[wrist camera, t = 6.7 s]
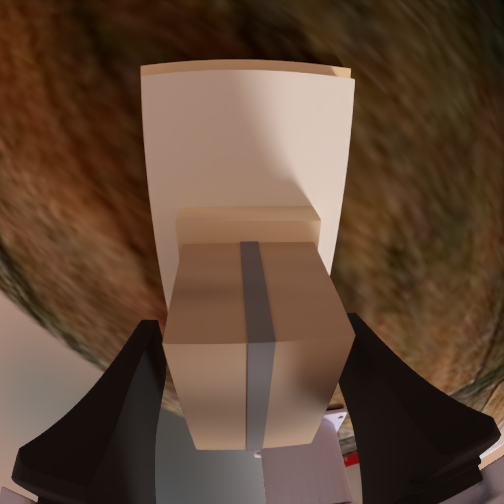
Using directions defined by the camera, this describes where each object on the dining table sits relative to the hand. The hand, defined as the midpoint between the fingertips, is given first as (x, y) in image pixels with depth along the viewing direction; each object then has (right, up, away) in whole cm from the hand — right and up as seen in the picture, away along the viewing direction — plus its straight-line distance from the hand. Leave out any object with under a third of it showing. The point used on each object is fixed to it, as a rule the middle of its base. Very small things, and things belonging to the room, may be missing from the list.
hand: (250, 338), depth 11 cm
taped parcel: (0, +1, +2) cm, 2 cm away
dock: (0, +2, +4) cm, 5 cm away
